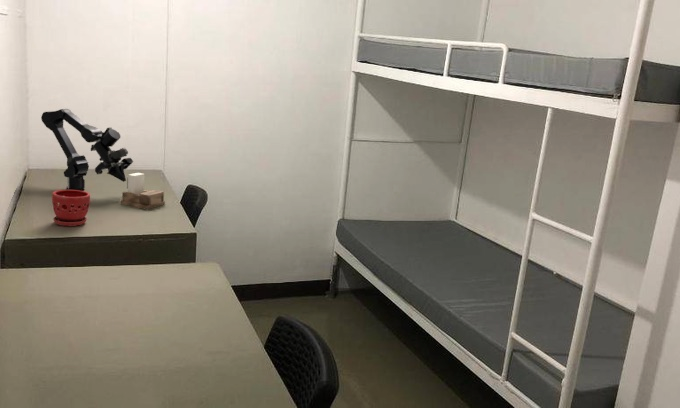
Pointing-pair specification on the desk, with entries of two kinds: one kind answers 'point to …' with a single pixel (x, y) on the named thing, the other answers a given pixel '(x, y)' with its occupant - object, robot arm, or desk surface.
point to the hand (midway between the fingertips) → (124, 181)
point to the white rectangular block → (135, 183)
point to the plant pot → (70, 207)
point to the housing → (144, 199)
